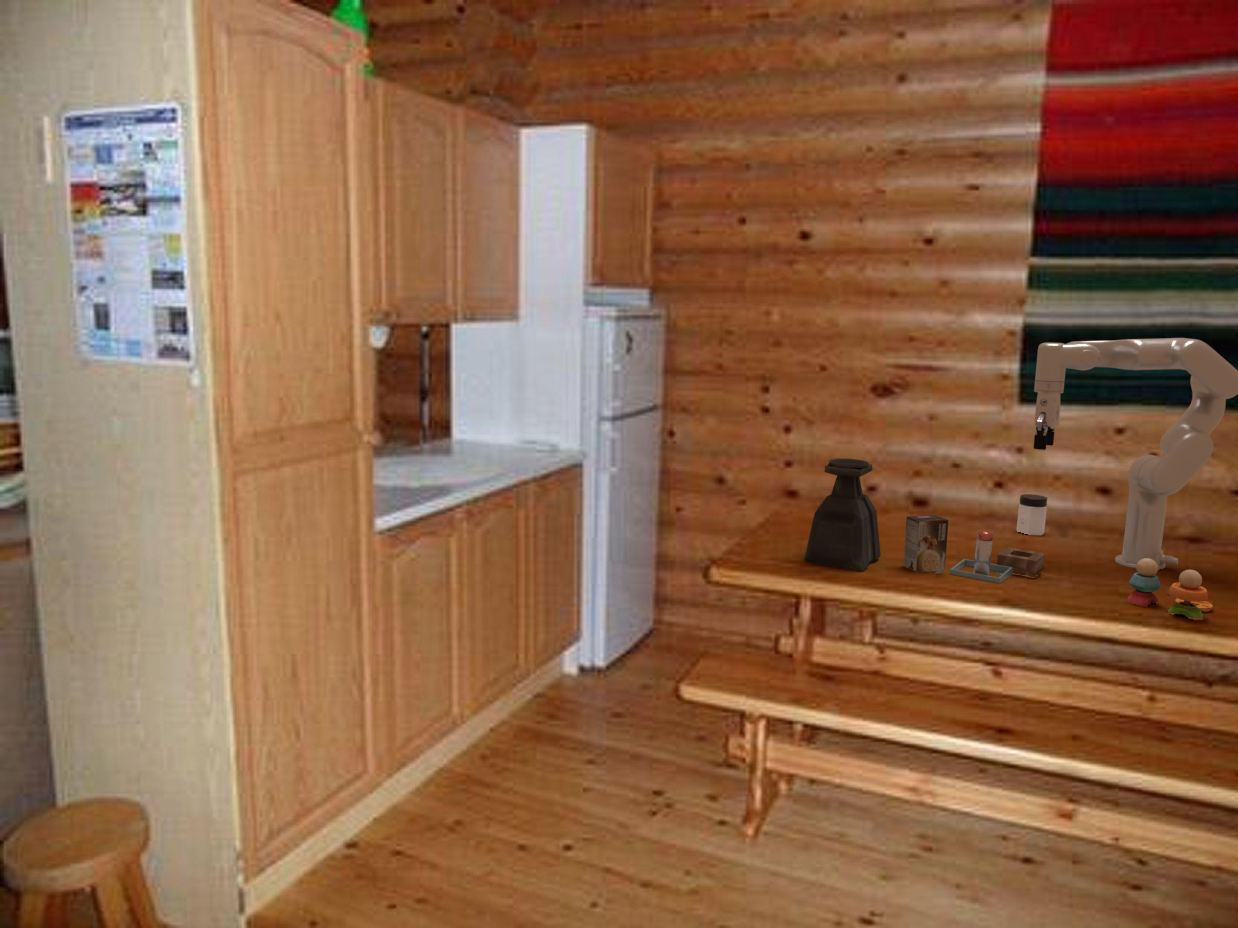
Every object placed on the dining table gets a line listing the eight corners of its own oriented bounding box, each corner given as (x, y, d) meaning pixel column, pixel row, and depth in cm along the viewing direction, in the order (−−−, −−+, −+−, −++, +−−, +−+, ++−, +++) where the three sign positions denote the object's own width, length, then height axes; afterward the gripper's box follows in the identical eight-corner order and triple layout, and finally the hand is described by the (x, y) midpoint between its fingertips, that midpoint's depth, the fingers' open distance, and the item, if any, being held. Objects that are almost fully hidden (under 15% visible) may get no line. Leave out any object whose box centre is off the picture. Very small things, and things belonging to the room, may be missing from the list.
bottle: (824, 556, 273) (830, 454, 268) (880, 565, 265) (888, 460, 260) (802, 571, 258) (808, 463, 253) (861, 581, 250) (869, 470, 245)
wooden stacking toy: (1222, 613, 230) (1229, 564, 228) (1197, 628, 219) (1204, 576, 217) (1143, 594, 244) (1149, 548, 241) (1116, 608, 232) (1122, 559, 230)
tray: (1011, 576, 257) (1012, 567, 257) (999, 587, 247) (1000, 578, 246) (963, 567, 265) (963, 558, 264) (949, 578, 254) (949, 569, 254)
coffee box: (931, 570, 261) (935, 514, 258) (945, 577, 255) (949, 519, 252) (901, 572, 258) (906, 515, 256) (915, 579, 252) (919, 521, 250)
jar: (1010, 530, 308) (1013, 495, 306) (1027, 528, 312) (1030, 492, 310) (1033, 537, 300) (1037, 500, 298) (1050, 534, 304) (1054, 498, 302)
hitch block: (1042, 570, 263) (1044, 553, 262) (1034, 578, 255) (1036, 560, 254) (1005, 563, 269) (1006, 546, 268) (996, 571, 261) (997, 554, 260)
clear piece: (990, 574, 256) (995, 532, 254) (985, 578, 253) (990, 534, 251) (976, 571, 258) (980, 529, 256) (970, 574, 255) (975, 531, 253)
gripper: (1057, 390, 256) (1051, 452, 259) (1069, 385, 270) (1063, 444, 273) (1027, 388, 260) (1022, 449, 263) (1041, 384, 274) (1036, 442, 277)
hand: (1043, 447), depth 268 cm, fingers open, 9 cm apart
